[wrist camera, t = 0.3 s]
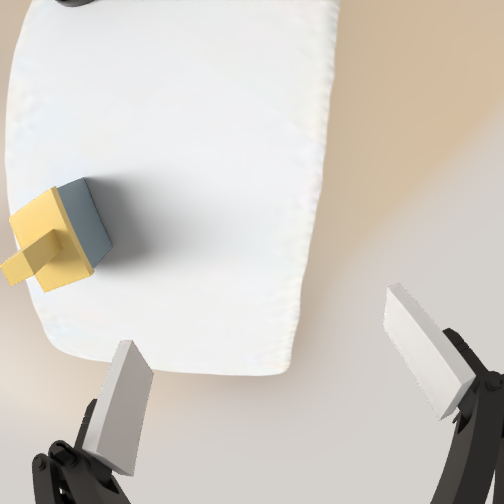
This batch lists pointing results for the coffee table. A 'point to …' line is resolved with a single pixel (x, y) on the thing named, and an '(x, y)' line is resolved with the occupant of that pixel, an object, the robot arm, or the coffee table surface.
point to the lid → (46, 245)
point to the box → (85, 220)
